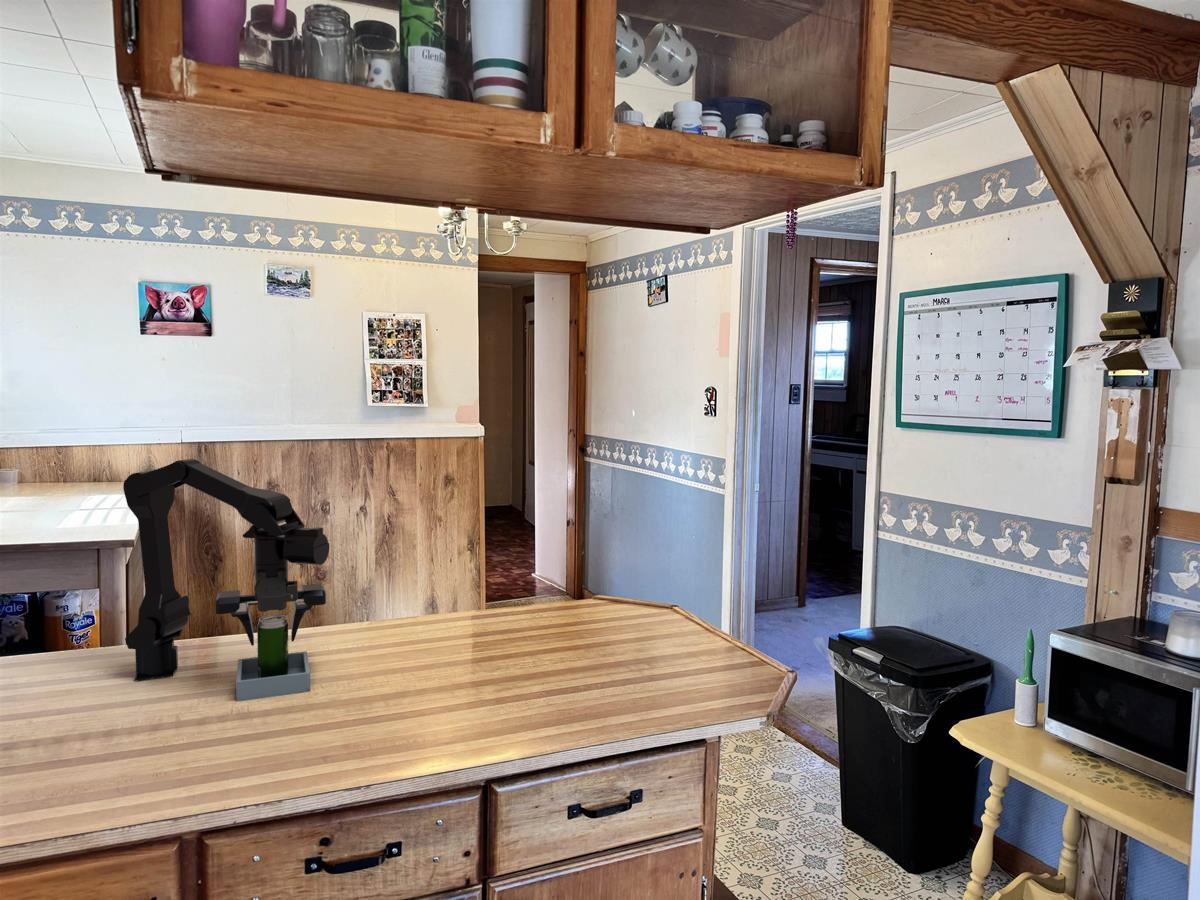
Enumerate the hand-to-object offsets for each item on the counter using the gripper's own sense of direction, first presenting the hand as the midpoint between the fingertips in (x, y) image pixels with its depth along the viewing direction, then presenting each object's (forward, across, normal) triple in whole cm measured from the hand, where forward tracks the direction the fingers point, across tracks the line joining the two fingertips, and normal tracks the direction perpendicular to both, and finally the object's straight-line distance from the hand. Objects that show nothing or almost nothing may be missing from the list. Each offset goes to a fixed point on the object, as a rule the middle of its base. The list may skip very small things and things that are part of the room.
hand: (272, 642), depth 146 cm
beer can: (+8, 0, 0) cm, 8 cm away
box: (+8, 0, 0) cm, 8 cm away
